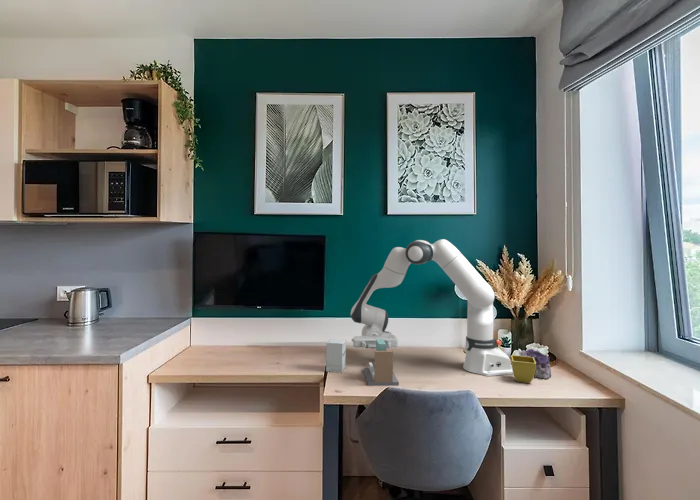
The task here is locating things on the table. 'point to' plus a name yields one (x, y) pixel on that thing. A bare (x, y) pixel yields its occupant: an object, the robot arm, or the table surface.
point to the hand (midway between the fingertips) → (377, 346)
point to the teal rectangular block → (380, 345)
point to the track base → (381, 370)
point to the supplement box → (335, 355)
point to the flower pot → (523, 368)
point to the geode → (539, 363)
